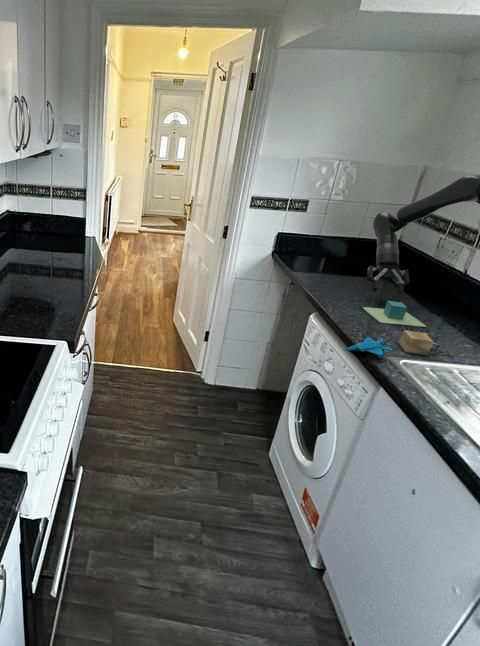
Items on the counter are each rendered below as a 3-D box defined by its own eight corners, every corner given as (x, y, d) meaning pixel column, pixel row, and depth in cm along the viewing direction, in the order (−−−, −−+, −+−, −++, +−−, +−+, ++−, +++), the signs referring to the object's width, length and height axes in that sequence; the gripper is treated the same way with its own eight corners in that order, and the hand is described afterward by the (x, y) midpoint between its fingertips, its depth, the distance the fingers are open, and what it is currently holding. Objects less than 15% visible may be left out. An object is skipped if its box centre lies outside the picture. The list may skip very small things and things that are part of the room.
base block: (419, 346, 135) (425, 333, 133) (427, 355, 130) (433, 341, 128) (398, 343, 136) (404, 329, 134) (405, 352, 131) (411, 338, 129)
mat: (404, 311, 162) (404, 310, 162) (426, 327, 149) (426, 326, 149) (361, 307, 163) (362, 306, 163) (380, 323, 150) (380, 322, 150)
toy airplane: (367, 344, 134) (371, 332, 132) (397, 359, 126) (402, 347, 124) (342, 350, 130) (346, 338, 128) (372, 366, 122) (376, 354, 120)
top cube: (397, 314, 158) (402, 302, 156) (402, 319, 153) (407, 307, 151) (383, 312, 159) (387, 300, 157) (387, 317, 154) (392, 305, 152)
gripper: (372, 249, 167) (371, 285, 162) (412, 254, 164) (413, 290, 158) (364, 258, 174) (363, 293, 169) (402, 263, 171) (403, 298, 165)
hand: (387, 292), depth 163 cm, fingers open, 8 cm apart
